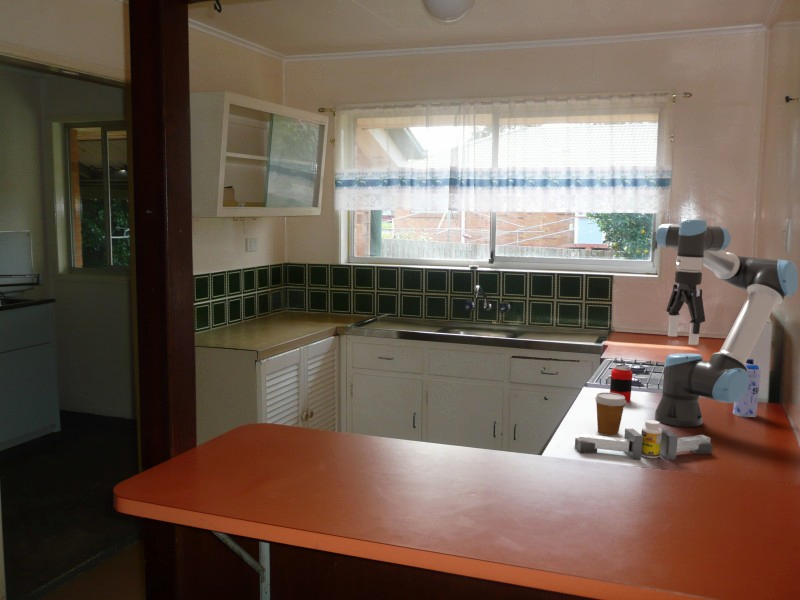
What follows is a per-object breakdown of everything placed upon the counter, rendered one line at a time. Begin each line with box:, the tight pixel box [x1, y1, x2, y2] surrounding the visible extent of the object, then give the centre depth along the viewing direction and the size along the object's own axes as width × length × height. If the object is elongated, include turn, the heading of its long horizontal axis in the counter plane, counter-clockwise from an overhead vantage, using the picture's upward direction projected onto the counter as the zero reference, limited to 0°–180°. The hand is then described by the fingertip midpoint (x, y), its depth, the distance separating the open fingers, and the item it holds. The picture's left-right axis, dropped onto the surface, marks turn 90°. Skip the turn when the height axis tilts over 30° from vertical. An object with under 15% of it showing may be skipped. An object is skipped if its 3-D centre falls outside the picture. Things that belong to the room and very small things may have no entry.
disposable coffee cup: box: [594, 391, 627, 437], centre depth 244 cm, size 10×10×12 cm
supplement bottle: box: [641, 419, 662, 459], centre depth 223 cm, size 6×6×10 cm
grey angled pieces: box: [574, 428, 714, 461], centre depth 225 cm, size 10×40×7 cm, turn 96°
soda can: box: [609, 366, 633, 403], centre depth 286 cm, size 8×8×12 cm
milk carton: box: [732, 358, 762, 418], centre depth 272 cm, size 8×8×20 cm
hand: (682, 340), depth 235 cm, fingers open, 13 cm apart
